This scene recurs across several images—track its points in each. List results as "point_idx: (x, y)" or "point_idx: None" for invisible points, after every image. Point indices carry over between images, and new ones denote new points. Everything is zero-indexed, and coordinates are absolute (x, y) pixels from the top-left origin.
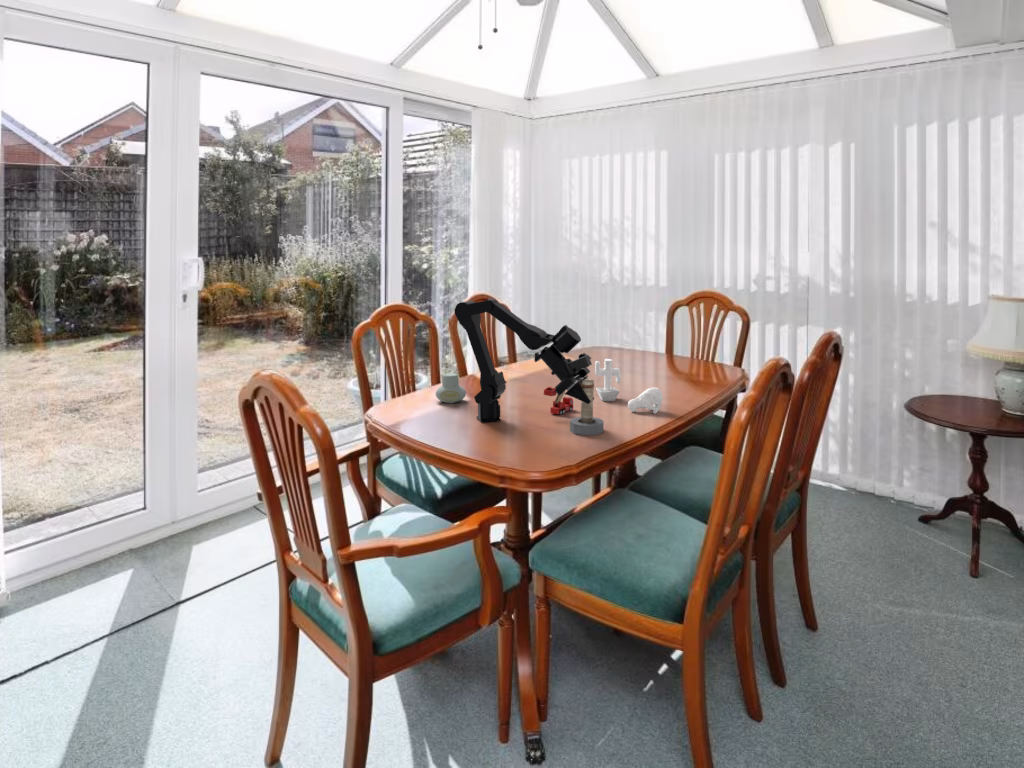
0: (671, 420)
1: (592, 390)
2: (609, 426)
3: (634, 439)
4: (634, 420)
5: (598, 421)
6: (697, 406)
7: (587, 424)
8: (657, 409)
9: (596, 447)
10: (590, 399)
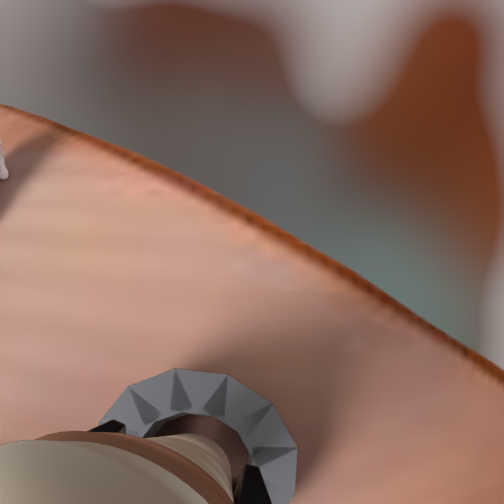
0: (79, 141)
1: (192, 460)
2: (117, 341)
3: (310, 252)
4: (49, 233)
5: (194, 399)
6: (4, 110)
7: (271, 462)
8: (2, 163)
9: (440, 389)
10: (220, 468)
